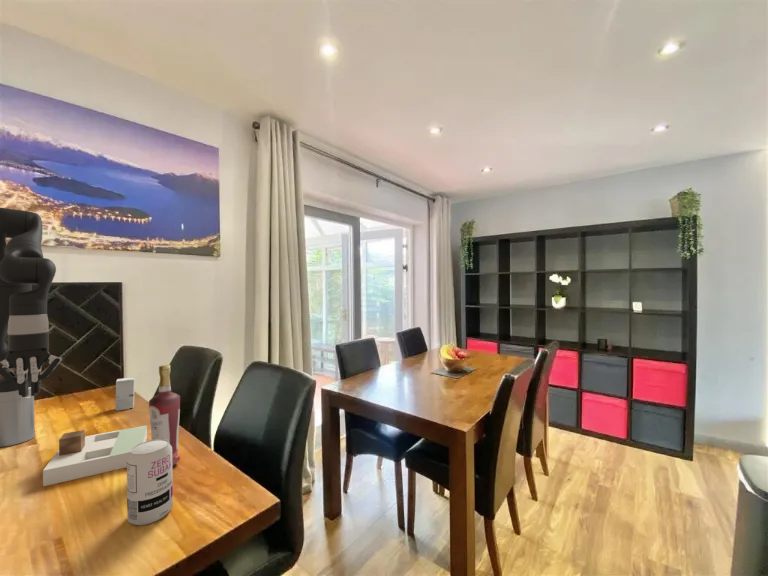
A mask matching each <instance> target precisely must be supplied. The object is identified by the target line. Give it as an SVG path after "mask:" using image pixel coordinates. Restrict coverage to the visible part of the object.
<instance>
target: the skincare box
mask: <svg viewBox="0 0 768 576" xmlns="http://www.w3.org/2000/svg"><path fill="white" fill-rule="evenodd" d="M134 406H135V377H123V378H117V379H116V381H115V409H114V410H115V412H116V411H124V410H131V409H130V408H132V409H134Z"/></svg>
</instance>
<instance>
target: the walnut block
mask: <svg viewBox="0 0 768 576" xmlns="http://www.w3.org/2000/svg"><path fill="white" fill-rule="evenodd" d="M85 430H86V429H84V430H83V429H82V430H75V431H69V432H66V433H62V435H61V437H60V438H59V440H58V450H59V456H62V455H67V454H72V453H77V452H81V451H82V449H83V448H84V446H85V436H86V431H85Z"/></svg>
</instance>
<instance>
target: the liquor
mask: <svg viewBox="0 0 768 576" xmlns="http://www.w3.org/2000/svg"><path fill="white" fill-rule="evenodd" d="M170 374H171V364H164V365H163V364H162V365H159V366H158V375H159V386H158V394H157V395H154V396H152V398H150V399H149V400H148V407H149V423H150V436H151V440H155V439H166V440H168V441H169V443H170V445H171V446H172V468H173V467H174V466H175V465H176V464H177V463H178V462H179V460H180V459H181V457H180V456H179V429H180V427H179V426H180V415H181V414H180V413H181V409H180V408H181V407H180V406H181V395H179V394H177V393H176V392H173V391H172V388H171V379H170V378H171V377H170Z"/></svg>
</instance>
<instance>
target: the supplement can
mask: <svg viewBox="0 0 768 576" xmlns="http://www.w3.org/2000/svg"><path fill="white" fill-rule="evenodd" d="M173 484H174V483H173V467H172V446H171V445H170V443H169V441H168V440H166V439H155V440H152V439H151V440H150V439H149V440H146V442H143V443H140V444H138V445H136V446H134V447H133V448H132V449H131V451H130V453H129V455H128V457H127V467H126V508H127V509H126V511H127V512H126V513H127V515H126V517H127V522H129V523H130V524H132V525H134V526H146V525H150V524H153V523H155V522H157V521H159V520H160V519H162V518H164V517H165V516H166V515H167V514H168V513H169V512H170V511H171V510H172V508H173V507H174V506H173V505H174V504H173V503H174V501H173V500H174V498H173V497H174V496H173V495H174V494H173V493H174V491H173V489H174V487H173Z"/></svg>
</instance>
